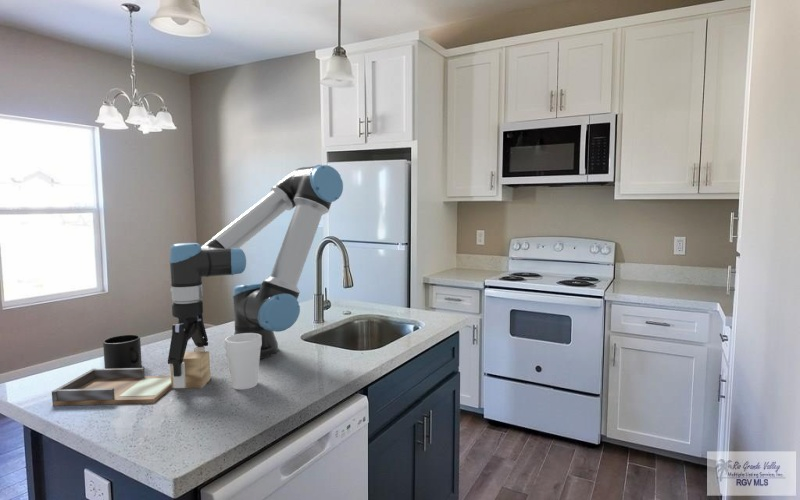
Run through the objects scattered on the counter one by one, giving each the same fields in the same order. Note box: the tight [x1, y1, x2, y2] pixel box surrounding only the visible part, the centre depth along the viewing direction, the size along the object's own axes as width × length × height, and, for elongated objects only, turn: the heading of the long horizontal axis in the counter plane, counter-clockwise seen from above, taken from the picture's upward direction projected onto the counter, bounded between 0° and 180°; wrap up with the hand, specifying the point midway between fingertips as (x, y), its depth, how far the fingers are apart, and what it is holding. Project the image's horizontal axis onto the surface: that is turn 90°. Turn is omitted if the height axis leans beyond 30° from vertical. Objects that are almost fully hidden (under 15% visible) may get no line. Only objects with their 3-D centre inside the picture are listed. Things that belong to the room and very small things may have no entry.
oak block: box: [169, 350, 211, 389], centre depth 124 cm, size 8×6×8 cm
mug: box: [102, 334, 143, 369], centre depth 136 cm, size 9×12×9 cm
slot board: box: [51, 367, 172, 407], centre depth 119 cm, size 24×16×4 cm, turn 93°
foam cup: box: [224, 333, 262, 390], centre depth 123 cm, size 10×9×13 cm
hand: (190, 378), depth 124 cm, fingers open, 13 cm apart
